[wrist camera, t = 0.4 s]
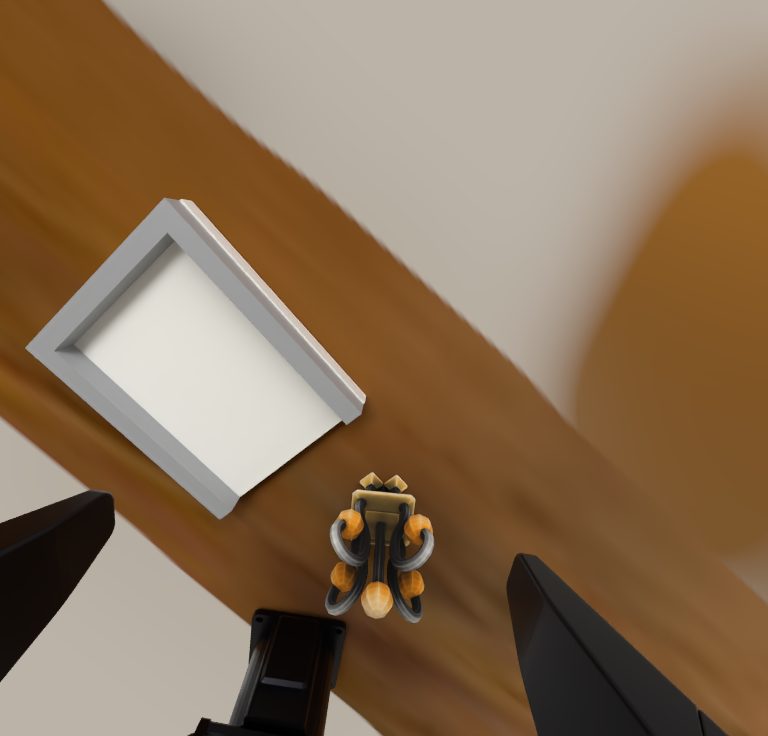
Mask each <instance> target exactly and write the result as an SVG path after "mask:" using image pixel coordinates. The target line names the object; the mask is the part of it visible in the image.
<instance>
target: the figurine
mask: <svg viewBox="0 0 768 736" xmlns="http://www.w3.org/2000/svg"><path fill="white" fill-rule="evenodd" d="M360 484H361V485H362V486H363V487H364V488H365V489H366V490H356V491H355V492H353V494H352V506H351V509H349V510H345V511H342V512H341V513H340V515H339V516H338V518H337V520H336V521H335V522H334V524H333V525H332V527H331V528H330V538H331V543H332V546H333V548H334V550H335V552H336V553H337V555H338V556H339V557H340V559H341V560H343V561H344V562H339V563H338V564H337V565H336V566H335V568H334V569H333V571H332V573H331V581H332V583H333V585H332V586H331V588H330V590H329V592H328V594H327V597H326V603H325V606H326V608H327V611H328V613H329V614H332V615H335V616H337V615H341V614H343V613H344V612H346V611H347V610H348V609H349V608H350V607H351V606H352V605H353V604H354V603H355V602H356V601H357V599H358V598H359V596H360V594H361V592H362V590H363V588H364V586H365V583H366V579H367V574H368V557H369V554H370V548H371V544H375V552H374V566H373V580H372V583H370V584H369V585H368V586H367V587H366V589H365V590H364V592H363V593H362V596H361V602H362V606H363V608H364V610H365V613H366V614H367V615H368V616H370V617H372V618H375V619H377V618H382V617H385V615H386V614H387V613H388V612H389V610H390V609H391V607H392V605H393V603H394V605H395V606H396V608H397V610H398V611H399V613H400V614H401V616H402V617H403V618H404V619H405V620H406V621H408V622H410V623H416V622H419V620H420V619H421V617H422V615H423V607H422V602H421V598H420V596H419V595H420V594H421V593H422V591H423V590H424V583H423V580H422V577H421V574H420V573H419V572H418V571H416V570H415V569H417V568H419V567H420V566H421V565H422V564H424V563H425V562H426V561H427V559H428V558H429V556H430V555H431V553H432V550H433V547H434V537H433V535H432V534H433V529H432V526H431V523H430V521H429V519H428V518H426V517H424V516H422V515H420V514H417V515H413V513H414V507H415V498H414V497H413V496H412V495H406V494H400V493H401V492H402V491H404V490H405V489H407V485H406V484H405V482H404V481H403V480H402V479H401V478H400V477H399V476H398V475H395V476H394V477H392V478H391V479H389V480H388V481H387V482H385V483H384V484H383V482H382V481H381V480H380V479H379V478H378V477H377V476H376V475H375V474H374V473H373V472H372V473H370V474H369V475H367V476H366V477H364V478H363V479H362V480H360ZM342 538H344V539H346V540H351V546H350V550H351V551H350V550H349V549H348V548H347V546H346V545H345V543H344V541H343V539H342ZM409 541H410V542H411V543H413V544H415V545H422V546H421V548H420V549H419V551H418V552H417V553H416V554H415V555H414V556H412V557H410V558H408V559H404V558H405V555H406V546H407V545H409ZM385 545H387V546H390V547H389V555H390V559H389V561H388V565H387V582H388V586H387V585H386V584H384V560H385ZM355 566H358V569H357V570H356V568H355ZM397 570H399V571H402V573H401V575H400V576H399V577H398V576H397ZM340 591H341V592H346V591H349V593H348V594H347V595H346V596H345V597H344V598H343V599H342V600H341V601H339V602H337V603H336V599H337V596H338V594H339V592H340ZM403 597H404V598H406V599H408V600H411V603H412V609H411V608H410V607H409V606H408V605H407V603H406V602H405V600H404V598H403Z"/></svg>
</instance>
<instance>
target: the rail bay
mask: <svg viewBox="0 0 768 736" xmlns="http://www.w3.org/2000/svg"><path fill="white" fill-rule="evenodd" d="M26 349H27V350H28V351H29V352H30V353H31V354H33V355H34V356H35V357H36V358H37V359H38V360H39V361H40V362H42V363H43V364H44V365H45V366H46V367H47V368H48V369H50V370H51V371H52V372H53V373H54V374H55V375H56V376H57V377H59V378H60V379H61V380H62V381H63V382H64V383H65V384H66V385H68V386H69V387H70V388H71V389H72V390H73V391H74V392H76V393H77V394H78V395H79V396H80V397H81V398H82V399H83V400H85V401H86V402H87V403H88V404H89V405H90V406H91V407H93V408H94V409H95V410H96V411H97V412H98V413H99V414H100V415H102V416H103V417H104V418H105V419H106V420H107V421H108V422H110V423H111V424H112V425H113V426H114V427H115V428H116V429H117V430H119V431H120V432H121V433H122V434H123V435H124V436H125V437H127V438H128V439H129V440H130V441H131V442H132V443H133V444H134V445H136V446H137V447H138V448H139V449H140V450H141V451H142V452H144V453H145V454H146V455H147V456H148V457H149V458H150V459H151V460H153V461H154V462H155V463H156V464H157V465H158V466H159V467H161V468H162V469H163V470H164V471H165V472H166V473H167V474H168V475H170V476H171V477H172V478H173V479H174V480H175V481H176V482H178V483H179V484H180V485H181V486H182V487H183V488H184V489H185V490H187V491H188V492H189V493H190V494H191V495H192V496H193V497H194V498H196V499H197V500H198V501H199V502H200V503H201V504H202V505H204V506H205V507H206V508H207V509H208V510H209V511H210V512H211V513H213V514H214V515H215V516H216V517H217V518H218V519H219V520H220V519H221V518H223V517H224V516H225V515H227V514H228V513H229V512H231V511H232V510H233V508H234V506H235V505H236V503H237V501H238V500H239V498H240V497H241V496H242V495H243V494H245V493H246V492H247V491H249V490H250V489H251V488H253V487H254V486H255V485H257V484H258V483H259V482H261V481H262V480H263V479H265V478H266V477H267V476H269V475H270V474H271V473H273V472H274V471H275V470H277V469H278V468H279V467H281V466H282V465H283V464H285V463H286V462H287V461H289V460H290V459H291V458H293V457H294V456H295V455H297V454H298V453H299V452H301V451H302V450H303V449H305V448H306V447H307V446H309V445H310V444H311V443H313V442H314V441H315V440H317V439H318V438H319V437H321V436H322V435H323V434H324V433H326V432H327V431H328V430H330V429H331V428H332V427H334V426H335V425H336V424H338V423H339V422H340V421H343V422H344V423H345V424H346V425H347V424H349V423H350V422H351V421H353V420H354V419H355V418H357V417H358V416H359V415H361V414H362V409H363V404H364V403H365V399H366V395H365V394H364V393H363V392H362V391H361V390H360V388H359V387H358V386H357V385H356V384H355V383H354V382H353V381H352V380H351V378H350V377H349V376H348V375H347V374H346V373H345V372H344V371H343V369H342V368H341V367H340V366H339V365H338V364H337V363H336V362H335V360H334V359H333V358H332V357H331V356H330V355H329V354H328V353H327V352H326V350H325V349H324V348H323V347H322V346H321V345H320V344H319V343H318V341H317V340H316V339H315V338H314V337H313V336H312V335H311V334H310V333H309V331H308V330H307V329H306V328H305V327H304V326H303V325H302V324H301V322H300V321H299V320H298V319H297V318H296V317H295V316H294V315H293V313H292V312H291V311H290V310H289V309H288V308H287V307H286V306H285V305H284V303H283V302H282V301H281V300H280V299H279V298H278V297H277V296H276V294H275V293H274V292H273V291H272V290H271V289H270V288H269V287H268V285H267V284H266V283H265V282H264V281H263V280H262V279H261V278H260V277H259V275H258V274H257V273H256V272H255V271H254V270H253V269H252V268H251V266H250V265H249V264H248V263H247V262H246V261H245V260H244V259H243V258H242V256H241V255H240V254H239V253H238V252H237V251H236V250H235V249H234V247H233V246H232V245H231V244H230V243H229V242H228V241H227V240H226V238H225V237H224V236H223V235H222V234H221V233H220V232H219V231H218V230H217V228H216V227H215V226H214V225H213V224H212V223H211V222H210V221H209V219H208V218H207V217H206V216H205V215H204V214H203V213H202V212H201V211H200V209H199V208H198V207H197V206H196V205H195V204H194V203H193V202H192V201H189V200H184V199H181V200H174V199H168V198H164V199H163V200H162V201H161V202H160V203H159V204H158V205H157V206H156V207H155V209H154V210H153V211H152V212H151V213H150V214H149V215H148V216H147V217H146V218H145V219H144V220H143V221H142V223H141V224H140V225H139V226H138V227H137V228H136V229H135V230H134V231H133V232H132V233H131V234H130V235H129V237H128V238H127V239H126V240H125V241H124V242H123V243H122V244H121V245H120V246H119V247H118V248H117V249H116V251H115V252H114V253H113V254H112V255H111V256H110V257H109V258H108V259H107V260H106V261H105V262H104V264H103V265H102V266H101V267H100V268H99V269H98V270H97V271H96V272H95V273H94V274H93V275H92V276H91V278H90V279H89V280H88V281H87V282H86V283H85V284H84V285H83V286H82V287H81V288H80V289H79V290H78V292H77V293H76V294H75V295H74V296H73V297H72V298H71V299H70V300H69V301H68V302H67V303H66V304H65V306H64V307H63V308H62V309H61V310H60V311H59V312H58V313H57V314H56V315H55V316H54V317H53V318H52V320H51V321H50V322H49V323H48V324H47V325H46V326H45V327H44V328H43V329H42V330H41V331H40V333H39V334H38V335H37V336H36V337H35V338H34V339H33V340H32V341H31V342H30V343H29V344H28V345H27V347H26Z"/></svg>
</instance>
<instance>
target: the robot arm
mask: <svg viewBox="0 0 768 736" xmlns="http://www.w3.org/2000/svg"><path fill="white" fill-rule="evenodd" d="M114 526H115V513H114V498H113V495H112V494H111V493H110V492H105V491H98V490H89V491H86V492H83V493H81V494H78V495H75V496H73V497H70V498H67V499H64V500H62V501H59V502H56V503H54V504H51V505H48V506H45V507H43V508H40V509H38V510H35V511H32V512H29V513H27V514H24V515H21V516H19V517H16V518H13V519H10V520H8V521H5V522H2V523H0V682H1V680H2V679H3V678H4V677H5V676H6V675H7V673H8V672H9V671H10V670H11V668H12V667H13V666H14V665H15V664H16V662H17V661H18V660H19V659H20V657H21V656H22V655H23V654H24V653H25V651H26V650H27V649H28V648H29V646H30V645H31V644H32V643H33V641H34V640H35V639H36V638H37V637H38V635H39V634H40V633H41V632H42V630H43V629H44V628H45V627H46V625H47V624H48V623H49V622H50V621H51V619H52V618H53V617H54V616H55V614H56V613H57V612H58V611H59V609H60V608H61V607H62V605H63V604H64V603H65V601H66V600H67V599H68V597H69V595H70V594H71V593H72V592H73V590H74V589H75V587H76V586H77V584H78V583H79V581H80V580H81V579H82V577H83V576H84V574H85V573H86V571H87V570H88V568H89V567H90V565H91V564H92V562H93V561H94V560H95V558H96V556H97V555H98V554H99V552H100V551H101V549H102V548H103V546H104V545H105V543H106V542H107V541H108V539H109V538H110V536H111V534H112V532H113V530H114ZM507 597H508V603H509V608H510V614H511V620H512V626H513V632H514V637H515V643H516V649H517V655H518V660H519V665H520V670H521V674H522V678H523V682H524V686H525V690H526V693H527V697H528V701H529V704H530V708H531V712H532V715H533V719H534V723H535V726H536V730H537V734H538V736H728V735H727V734H726V733H725V732H724V731H723V730H722V729H721V728H720V727H719V726H718V725H717V724H716V723H714V722H713V721H712V720H711V719H710V718H709V717H708V716H707V715H706V714H705V713H704V712H703V711H701V710H698V709H697V706H696V705H695V704H694V703H693V702H692V701H691V700H690V699H689V698H688V697H687V696H686V695H684V694H683V693H682V692H681V691H680V690H679V689H678V688H677V687H676V686H675V685H674V684H673V683H672V682H671V681H670V680H668V679H667V678H666V677H665V676H664V675H663V674H662V673H661V672H660V671H659V670H658V669H657V668H656V667H655V666H654V665H652V664H651V663H650V662H649V661H648V660H647V659H646V658H645V657H644V656H643V655H642V654H641V653H640V652H639V651H637V650H636V649H635V648H634V647H633V646H632V645H631V644H630V643H629V642H628V641H627V640H626V639H625V638H624V637H623V636H621V635H620V634H619V633H618V632H617V631H616V630H615V629H614V628H613V627H612V626H611V625H610V624H609V623H608V622H607V621H605V620H604V619H603V618H602V617H601V616H600V615H599V614H598V613H597V612H596V611H595V610H594V609H593V608H592V607H591V606H589V605H588V604H587V603H586V602H585V601H584V600H583V599H582V598H581V597H580V596H579V595H578V594H577V593H576V592H575V591H573V590H572V589H571V588H570V587H569V586H568V585H567V584H566V583H565V582H564V581H563V580H562V579H561V578H560V577H559V576H557V575H556V574H555V573H554V572H553V571H552V570H551V569H550V568H549V567H548V566H547V565H546V564H545V563H544V562H543V561H541V560H540V559H539V558H538V557H537V556H535V555H529V554H523V553H519V554H517V555H516V557H515V559H514V562H513V565H512V568H511V571H510V574H509V577H508V580H507ZM345 633H346V624H345V623H344V622H342V621H336V620H330V619H323V618H317V617H310V616H303V615H297V614H290V613H284V612H277V611H271V610H264V609H258V610H256V611H255V613H254V615H253V618H252V628H251V640H250V654H249V666H248V669H247V672H246V675H245V678H244V681H243V684H242V687H241V689H240V693H239V695H238V698H237V701H236V704H235V707H234V710H233V713H232V716H231V718H230V722H229V724H223V723H218V722H212V721H211V719H208V718H203V717H202V718H201V720H200V722H199V724H198V726H197V728H196V731H195V733H192V734H190V735H188V736H324V730H325V723H326V716H327V709H328V702H329V696H330V689H333V688H334V687H335V685H336V680H337V675H338V670H339V664H340V659H341V654H342V649H343V643H344V638H345Z"/></svg>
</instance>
